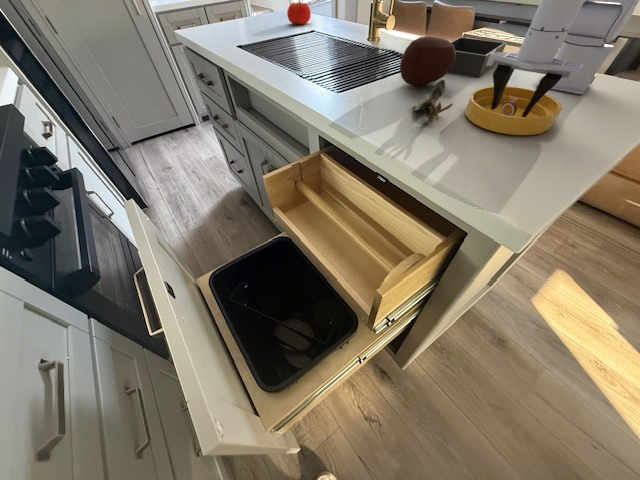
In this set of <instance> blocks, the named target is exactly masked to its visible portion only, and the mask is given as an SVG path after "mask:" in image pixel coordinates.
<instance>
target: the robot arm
mask: <svg viewBox="0 0 640 480" xmlns="http://www.w3.org/2000/svg"><path fill="white" fill-rule="evenodd" d="M639 2H640V0H540V2H539V4H538V6H537V9H536V11H535V14H534V16H533V18H532V20H531V22H530V25H529V27H528V30H527V32H526V34H525V37H524V39H523V41H522V43H521V45H520V48H519V51H518V52H503V53H502V52H493V53H491V54H490V56H489V59H488V62H487V64H486V65H487V66H494V67H496V68H495V70H494V71H493V73H492V81H493V86H494V94H493V102H492V106H491V109H493V110H494V109H495V108H496V107H497V106H498V104H499V102H500V100H501V98H502V95H503V92H504V90H505V87H506V86H508V83H509V81H510V79H511V77H512V75H513V73H514V71H515V70H517V71H524V72H529V73H535V74H541V75H544V76H542V78H541V79H540V80H539V82H538V83H537V84H536V89H535V90H534V91H535V93H534V95H533V97H532V99H531V101H530V102H529V104H528V106H527V107H526V109H525V111H524V112H523V114H522V116H521V117H526V116H527V115H528V114H529V112H530V110H531V109H532V108H533V106H534V105H535V104H536V103H537V102H538V101H539V99H540V98H541V97H542V96H544V95H545V94H546V95H547V93H548V92H549V91H550V90H555V91H561V92H566V93H571V94H576V95H583V94H584V93H585V91H586V90H587V88H588V87H589V86H590V85H592V84H593V82H594V81H595V79H596V78H597V73H598V72H599V70H600V69H601V67H602V65H603V64H604V63H605V61H606V59H607V58H608V56H609V55H610V53H611V51H612V50H613V48H615V46H614V45H612V44H608V43H611V42H612V41H614V40H615V39H617V37H618V36H619V35H620V33H622V31H623V30H624V28H625V26H626V25H627V24H628V22H629V21H630V19H631V17H632V16H633V14H634V11H635V9H636V7H637V6H638V4H639ZM606 43H607V44H606Z"/></svg>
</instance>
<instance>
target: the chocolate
mask: <svg viewBox="0 0 640 480" xmlns="http://www.w3.org/2000/svg"><path fill="white" fill-rule="evenodd" d="M509 97H510V96H509ZM511 98H513V97H512V96H511ZM509 100H510V99H509ZM517 100H518V99H517ZM514 101H515V97H514ZM514 101H511V100H510V101H509V102H507V103H505V104H504V105H503V106H502V107H501V111H500V114H503V115H507V116H513V115H514V114H515V113H516V110H517V107H516V104H515V103H514Z"/></svg>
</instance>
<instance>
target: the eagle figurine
mask: <svg viewBox="0 0 640 480" xmlns="http://www.w3.org/2000/svg"><path fill="white" fill-rule="evenodd" d="M445 85H446V81H445V79H440V80H439V81H438V82H437V83H436V84H435V85H434V87H433V88H432V90H431V92H430V95H429V97H426V98H424V99H422V100H421V101H419V102H418V103H417V104H415V105H414V106H412V107H411V109H412V110H413V111H419V110H423V111H424V116H425V117H427V118H428V119H426V120H427V121H426V126H429V124H430V123H431V122H432V121H433V120H434V118H435V117H436V118H437V119H439V114H441V113H442V112H445V111H447V110H449V109H450V108H451V107H452V106H453V105H454V103H450V104H449V105H447V106H445V107H442V102H441V101H439V99H440V98H441V97H442V96H443V94H444V91H445V88H446V86H445ZM438 101H439V102H438ZM437 102H438V104H437Z"/></svg>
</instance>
